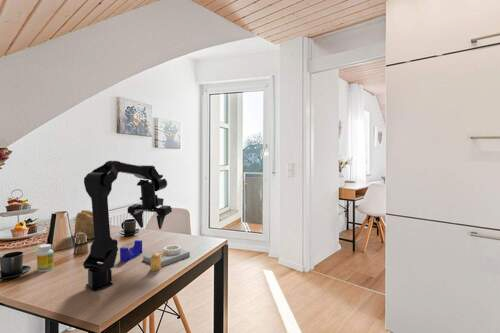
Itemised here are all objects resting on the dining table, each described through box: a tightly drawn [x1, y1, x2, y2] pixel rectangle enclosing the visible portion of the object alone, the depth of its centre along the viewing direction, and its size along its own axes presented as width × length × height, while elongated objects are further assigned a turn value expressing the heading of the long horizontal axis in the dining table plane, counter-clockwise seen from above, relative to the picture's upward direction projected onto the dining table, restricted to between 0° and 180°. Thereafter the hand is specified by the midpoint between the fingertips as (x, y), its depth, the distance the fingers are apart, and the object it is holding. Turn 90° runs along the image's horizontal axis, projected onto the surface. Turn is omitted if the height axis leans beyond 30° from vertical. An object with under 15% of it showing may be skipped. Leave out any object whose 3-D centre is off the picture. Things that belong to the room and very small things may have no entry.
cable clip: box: [119, 239, 143, 263], centre depth 127 cm, size 12×4×6 cm, turn 169°
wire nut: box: [150, 253, 162, 272], centre depth 114 cm, size 4×4×6 cm
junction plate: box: [142, 244, 191, 268], centre depth 126 cm, size 16×12×4 cm
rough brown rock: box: [73, 209, 95, 240], centre depth 156 cm, size 23×17×15 cm
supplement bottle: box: [36, 243, 55, 273], centre depth 112 cm, size 5×5×10 cm
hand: (151, 228), depth 125 cm, fingers open, 9 cm apart
